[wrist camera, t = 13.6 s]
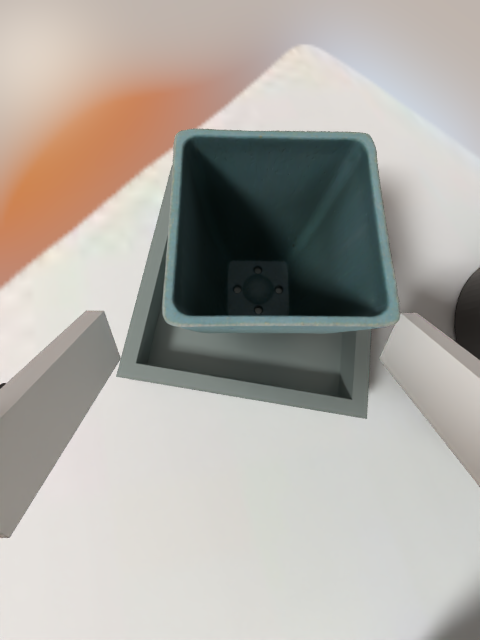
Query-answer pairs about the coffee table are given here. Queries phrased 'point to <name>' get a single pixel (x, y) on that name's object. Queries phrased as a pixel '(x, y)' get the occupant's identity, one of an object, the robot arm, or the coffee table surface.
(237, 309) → the flower pot
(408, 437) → the coffee table surface
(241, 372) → the tray
